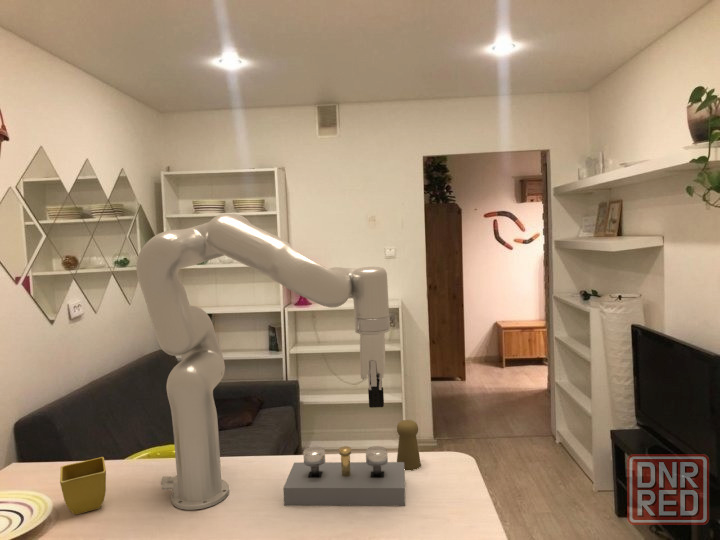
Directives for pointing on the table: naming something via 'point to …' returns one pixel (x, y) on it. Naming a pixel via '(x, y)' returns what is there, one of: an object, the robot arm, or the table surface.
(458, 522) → the table surface
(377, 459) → the knob
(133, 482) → the table surface
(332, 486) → the mount
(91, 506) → the flower pot
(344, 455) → the brass shaft
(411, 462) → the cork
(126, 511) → the table surface
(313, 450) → the knob
